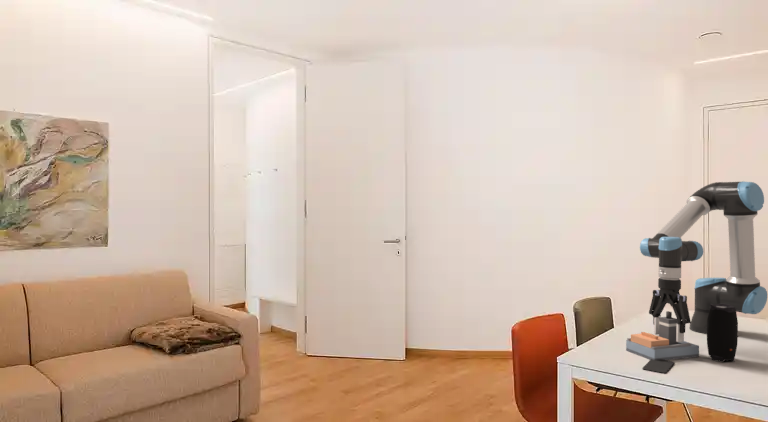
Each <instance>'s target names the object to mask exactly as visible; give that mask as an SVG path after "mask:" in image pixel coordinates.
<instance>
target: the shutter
mask: <svg viewBox="0 0 768 422" xmlns="http://www.w3.org/2000/svg"><path fill="white" fill-rule="evenodd" d="M630 338H631V341H632V342H635V343H638V344H640V345H643V346H646V347H649V348H651V347H654V346H665V345H669V339H665V338H662V337H659V335H655V334H654V333H653V334H652V333H649V332H645V331H641V333H632V334H630Z"/></svg>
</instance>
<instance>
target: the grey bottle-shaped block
mask: <svg viewBox="0 0 768 422" xmlns="http://www.w3.org/2000/svg"><path fill="white" fill-rule="evenodd" d="M672 315H673V314H672V311H668V310H667V311H666V312H665V316H660V317H659V335H658V336H659V337H662V338H665V339H669V345H675V344H678V342H677V341H676V328H677V323H678V320H677V318H676V317H672Z"/></svg>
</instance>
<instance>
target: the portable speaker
mask: <svg viewBox="0 0 768 422" xmlns="http://www.w3.org/2000/svg"><path fill="white" fill-rule="evenodd" d="M738 329H739V321H738V314H737V312H736V309H735V307H733V306H731V305H729V304H721V303H720V304H715V305H713V304H710V310H709V314H708V318H707V334H706V346H707V352H708V355H709V356H710V359H711V360H712V361H715V362H722V363H723V362H724V361H730V362H731V363H732V362H735V357H736V353H737V348H738V336H739V335H738V334H739V333H738V332H739V331H738Z"/></svg>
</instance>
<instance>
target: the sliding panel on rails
mask: <svg viewBox="0 0 768 422" xmlns="http://www.w3.org/2000/svg"><path fill="white" fill-rule="evenodd" d="M625 342H626V343H625V344H626V345H625V351H627V352H629V353H632V354H633V355H637V356H639V357H642V358H645V359H647V360H649V361H650V360H651V359H653V360H659V359H661V360H667V361H672V360H680V359H689V358H699V357H700V356H699V355H700V345H699V344H695V343H692V342H688V341H685V340H684V341H682V342H678V344H675V345H665V346H654V347H651V348H649V347H646V346H643V345H640V344H638V343H635V342H632V341H631V337H627V338H626V341H625Z"/></svg>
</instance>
